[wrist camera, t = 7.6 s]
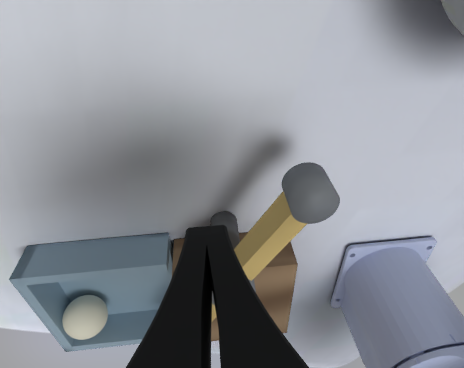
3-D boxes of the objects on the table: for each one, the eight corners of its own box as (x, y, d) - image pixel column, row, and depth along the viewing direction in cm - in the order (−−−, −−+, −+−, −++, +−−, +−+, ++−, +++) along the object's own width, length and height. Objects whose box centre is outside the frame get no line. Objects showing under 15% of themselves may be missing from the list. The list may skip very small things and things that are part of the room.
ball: (120, 312, 29) (99, 351, 26) (86, 306, 29) (63, 343, 27) (108, 289, 27) (84, 329, 24) (72, 283, 27) (45, 321, 25)
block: (278, 298, 32) (287, 338, 28) (188, 307, 31) (188, 349, 28) (288, 205, 24) (303, 246, 21) (169, 216, 23) (165, 259, 20)
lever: (181, 343, 26) (180, 369, 25) (147, 337, 25) (143, 364, 24) (339, 175, 17) (354, 199, 15) (295, 153, 16) (307, 177, 14)
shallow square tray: (185, 308, 31) (184, 338, 29) (75, 319, 30) (65, 351, 28) (168, 232, 24) (166, 264, 22) (27, 245, 24) (9, 279, 21)
